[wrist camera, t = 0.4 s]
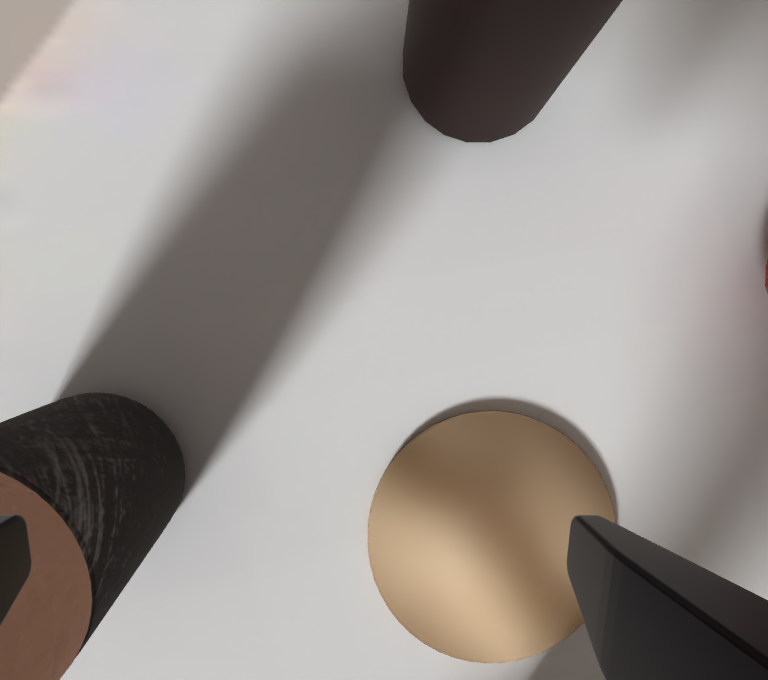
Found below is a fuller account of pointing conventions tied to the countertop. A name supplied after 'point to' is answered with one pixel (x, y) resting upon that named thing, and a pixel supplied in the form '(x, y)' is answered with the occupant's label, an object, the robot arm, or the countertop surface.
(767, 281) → the onion
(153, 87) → the countertop surface
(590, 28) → the bottle
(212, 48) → the countertop surface
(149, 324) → the countertop surface
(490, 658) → the trivet
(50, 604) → the travel mug
